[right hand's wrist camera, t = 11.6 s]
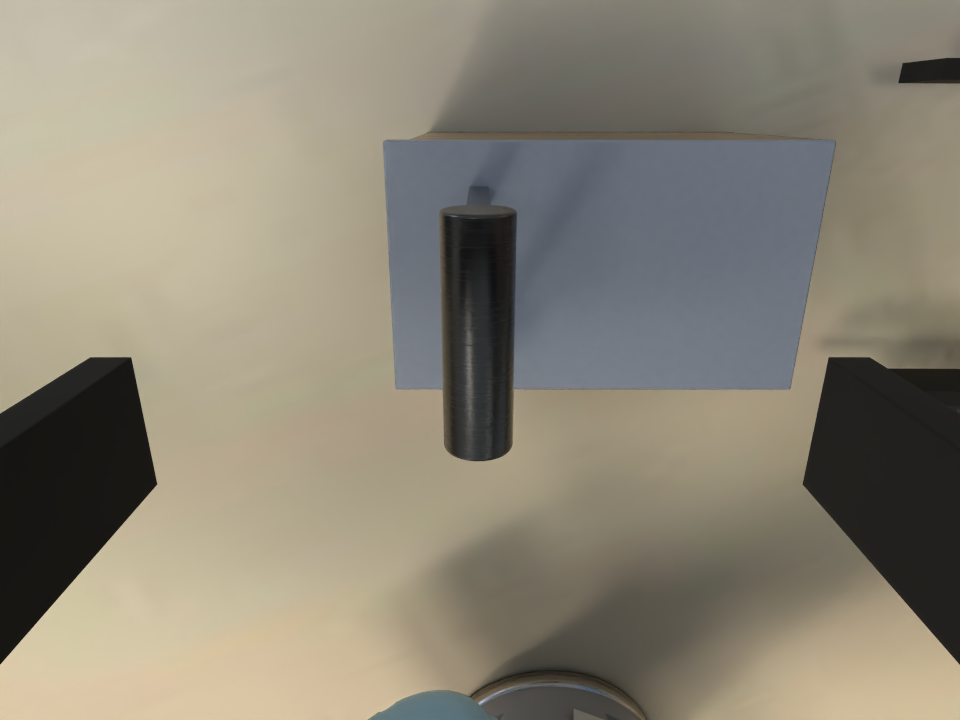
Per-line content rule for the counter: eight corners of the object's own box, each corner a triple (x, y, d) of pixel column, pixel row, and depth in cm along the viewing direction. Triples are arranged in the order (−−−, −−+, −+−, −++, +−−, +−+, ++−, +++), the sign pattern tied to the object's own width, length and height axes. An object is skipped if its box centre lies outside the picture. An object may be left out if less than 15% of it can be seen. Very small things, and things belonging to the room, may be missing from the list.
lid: (398, 381, 26) (359, 505, 18) (386, 139, 23) (332, 154, 15) (781, 382, 26) (920, 505, 18) (825, 139, 23) (1020, 154, 15)
